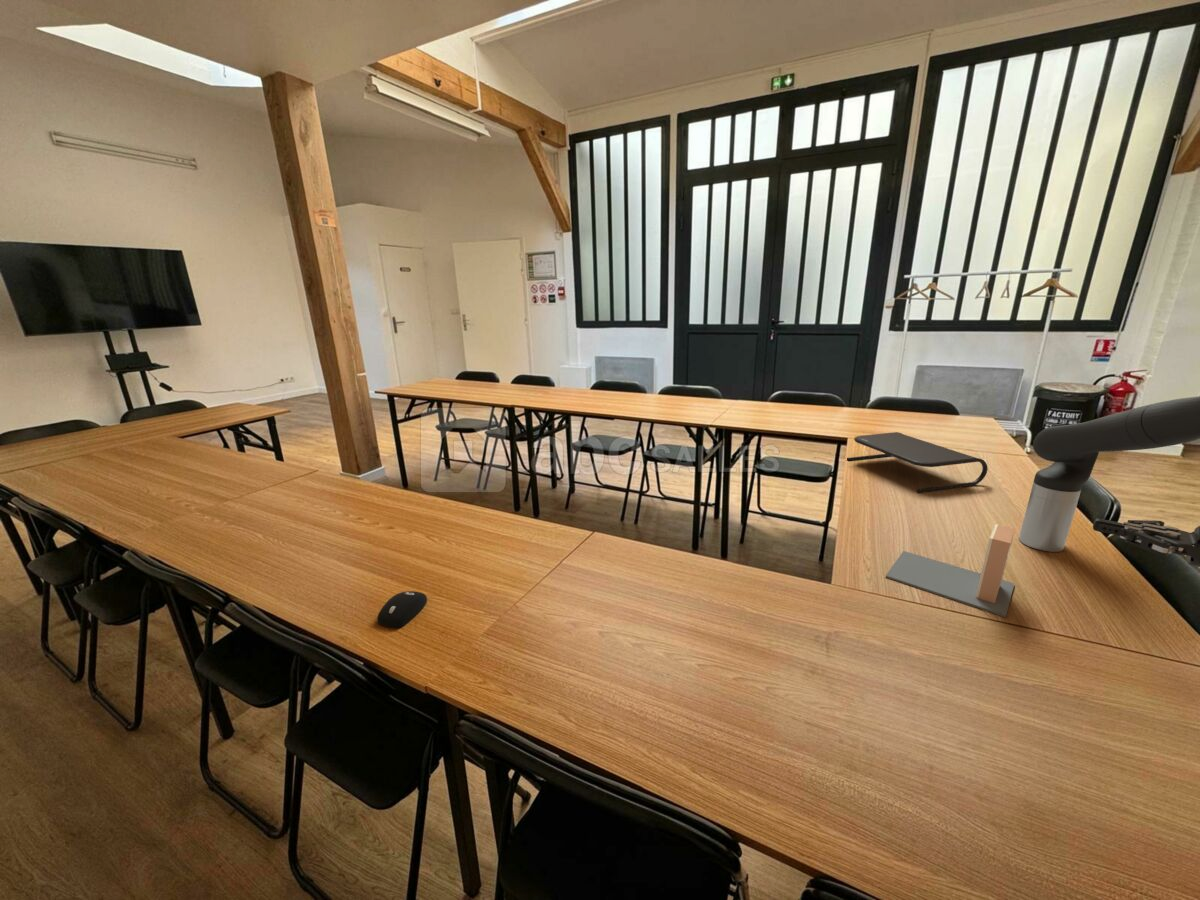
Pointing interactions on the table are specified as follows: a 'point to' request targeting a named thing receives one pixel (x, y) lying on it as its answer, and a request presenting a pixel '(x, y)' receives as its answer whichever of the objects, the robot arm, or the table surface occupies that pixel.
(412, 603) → the computer mouse
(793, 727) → the table surface
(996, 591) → the peach rectangular block
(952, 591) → the mat
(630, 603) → the table surface
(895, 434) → the monitor stand
